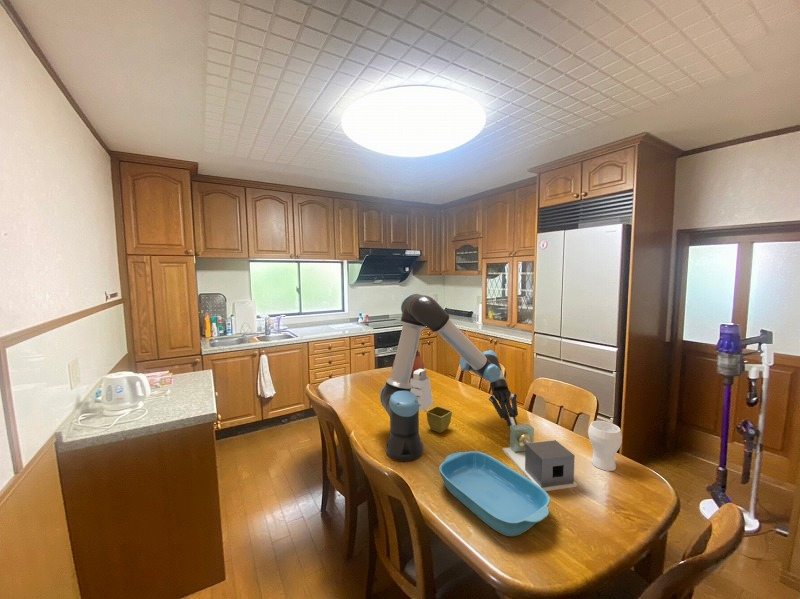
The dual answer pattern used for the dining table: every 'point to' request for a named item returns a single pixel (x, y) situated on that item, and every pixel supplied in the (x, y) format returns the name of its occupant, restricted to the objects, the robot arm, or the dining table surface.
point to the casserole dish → (495, 492)
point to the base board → (519, 461)
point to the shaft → (521, 436)
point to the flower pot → (439, 418)
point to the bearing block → (549, 463)
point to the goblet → (416, 364)
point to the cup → (604, 444)
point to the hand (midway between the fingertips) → (515, 433)
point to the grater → (422, 389)
